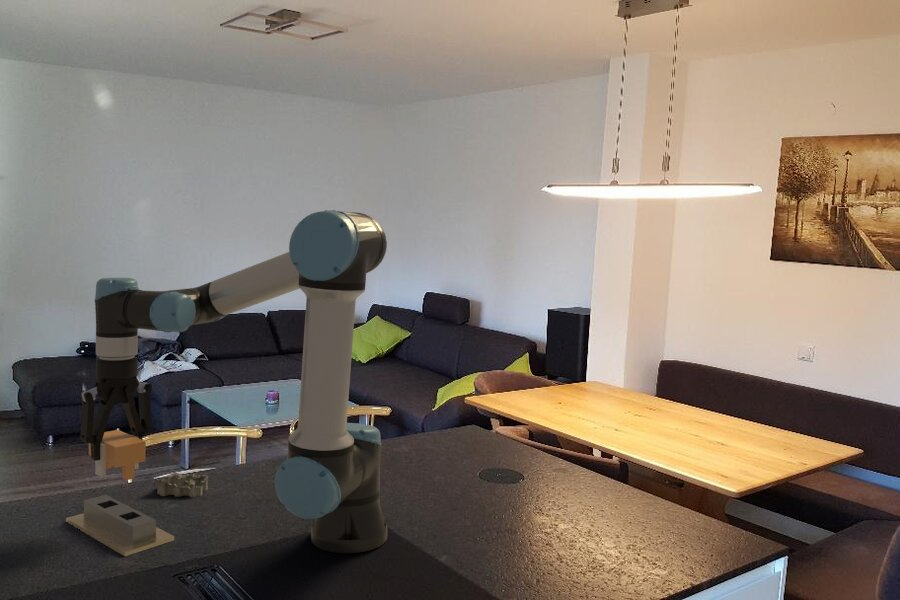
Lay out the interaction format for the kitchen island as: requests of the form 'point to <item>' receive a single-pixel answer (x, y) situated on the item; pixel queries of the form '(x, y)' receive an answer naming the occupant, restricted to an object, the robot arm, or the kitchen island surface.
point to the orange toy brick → (123, 452)
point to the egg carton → (182, 485)
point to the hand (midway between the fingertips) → (117, 471)
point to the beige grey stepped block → (119, 526)
